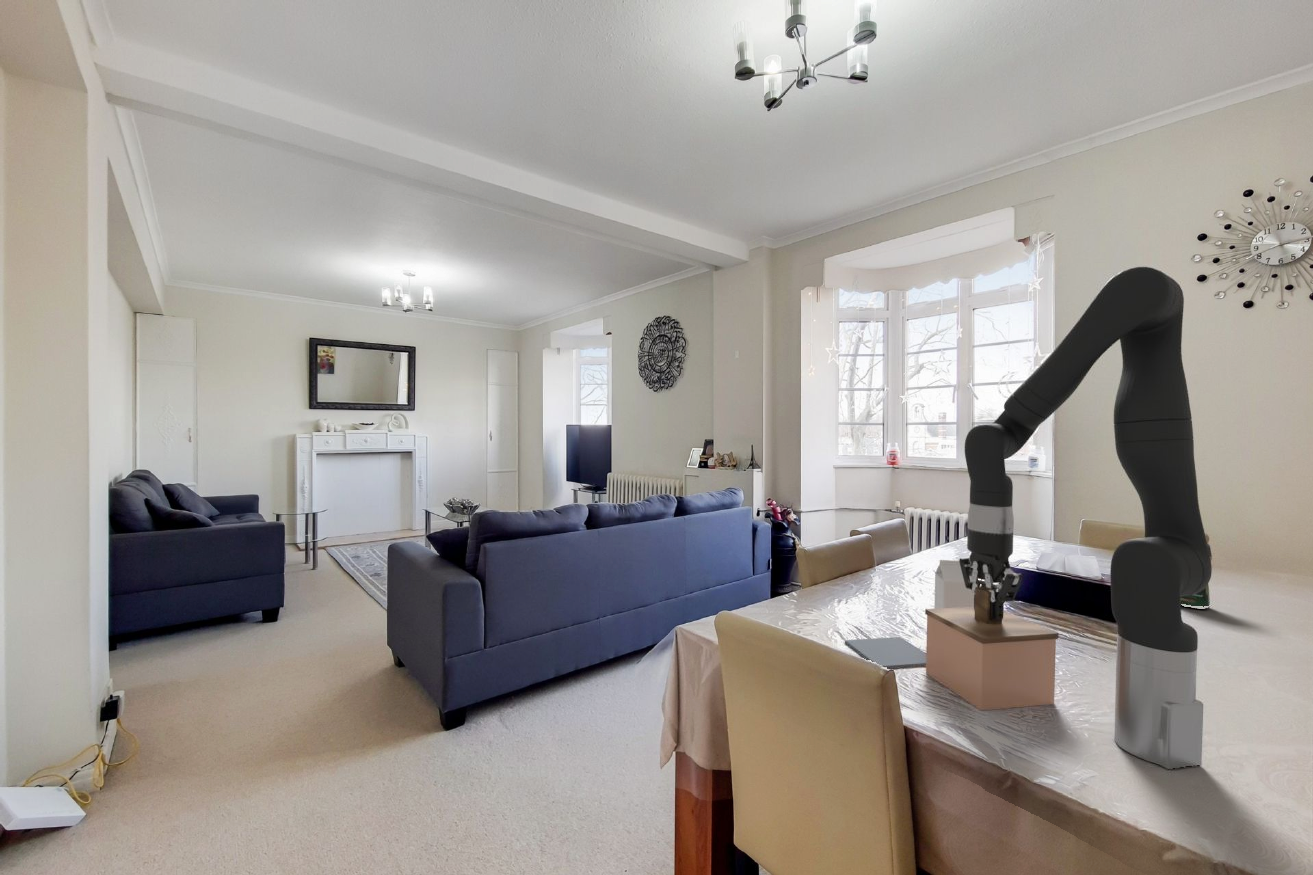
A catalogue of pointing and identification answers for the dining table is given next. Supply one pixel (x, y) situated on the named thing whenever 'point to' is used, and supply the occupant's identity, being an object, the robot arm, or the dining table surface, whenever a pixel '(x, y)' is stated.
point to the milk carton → (951, 586)
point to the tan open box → (991, 668)
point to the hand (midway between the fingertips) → (987, 616)
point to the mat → (889, 652)
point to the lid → (989, 622)
